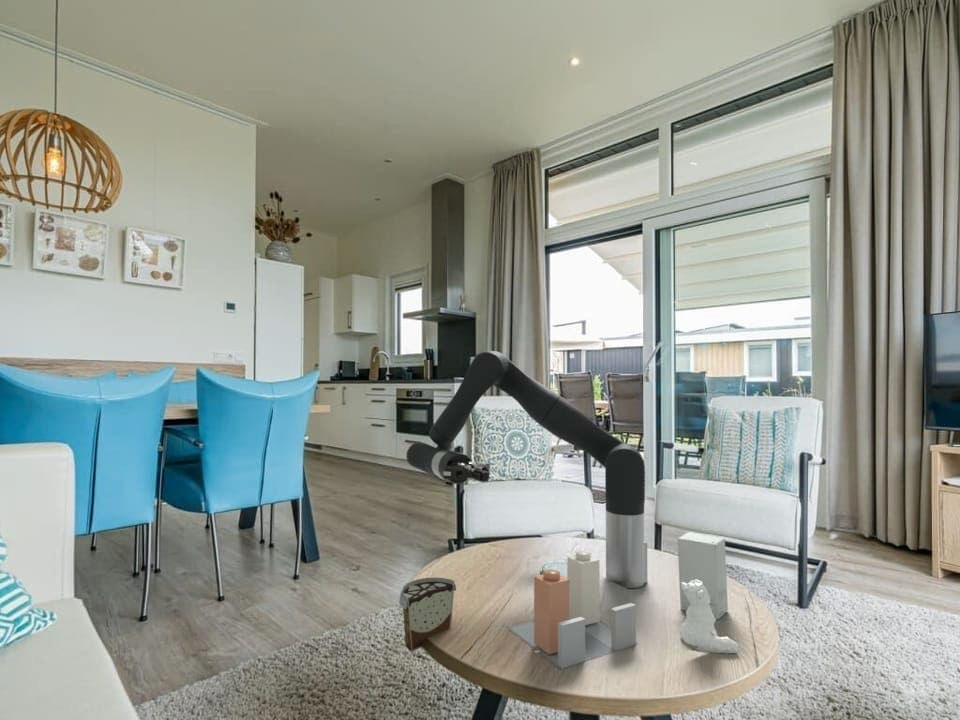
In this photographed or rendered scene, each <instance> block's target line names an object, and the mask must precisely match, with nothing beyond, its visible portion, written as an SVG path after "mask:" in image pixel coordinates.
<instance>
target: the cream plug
mask: <svg viewBox="0 0 960 720" xmlns="http://www.w3.org/2000/svg"><path fill="white" fill-rule="evenodd" d="M566 559H567V560H566V562H567V563H566V564H567V567H566V570H567V571H566V574H567V575H566V578H567V579H569V619H574V618H578V617H582V618H584V619H585V625H588V624H592V623H595V622H599V621H600V619H601V618H600V617H601V616H600V614H601V612H600V607H601V606H600V605H601V604H600V597H601V596H600V588H601V587H600V559H598V558H596V557H593V556H592V554H591V552H589V551H585V550H578V551H576V552H575V555H570V556H567V557H566Z"/></svg>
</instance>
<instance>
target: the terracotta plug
mask: <svg viewBox="0 0 960 720" xmlns="http://www.w3.org/2000/svg"><path fill="white" fill-rule="evenodd" d="M533 580H534V581H533V582H534V583H533V587H534V588H533V589H534V590H533V592H534V593H533V594H534V595H533V598H534V599H533V602H534V603H533V604H534V605H533V610H534V611H533V613H534V614H533V620H534V644H536V645H537V646H538V647H540V648H541V649H542V650H544V651H545V652H546V653H548V654H549V655H550V654H553V653H556V652H558V623H560V622H563V621H567V620H569V579H567V577H565V576H563V575H561V572H560V571H559V570H558V569H557V570H556V569H551V568H550V569H545V570H543V573H542V574H537V575H534V577H533Z"/></svg>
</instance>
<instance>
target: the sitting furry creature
mask: <svg viewBox="0 0 960 720" xmlns="http://www.w3.org/2000/svg"><path fill="white" fill-rule="evenodd" d="M681 588H682V590H683V591H684V595H686V596H687V599H688V600H689V602H690V603H691V605H690V606H689V607H688V610H687V611H685V614H686V615H685V620H683V623H682V625H681V629H680V631H679V635H680V638H681V640H682V641H683V642H684V643H685V644H686V645H689V646H693V647H694V648H692V651H696V652H698V653H711V652H712V654H713V653H714V652H715V653H716V654H728V653H734V654H736V653H738V652H739V644H738V643H737V642H736V641H735V640H733V639H731V638H730V637H729V636H726V635H725V636H718V634H717V633H718V632H717V630H716V628H715V622H717V619H715V618H714V616H713V614H712V610H711V608H710V605H709V603H710V596H709V595H708V591H707V589H706V588H705V587H704V586H703V582H702V581H700V580H692V581H690V582H689V583H688V584H686V583H684V582H682V583H681ZM715 653H714V654H715Z"/></svg>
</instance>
